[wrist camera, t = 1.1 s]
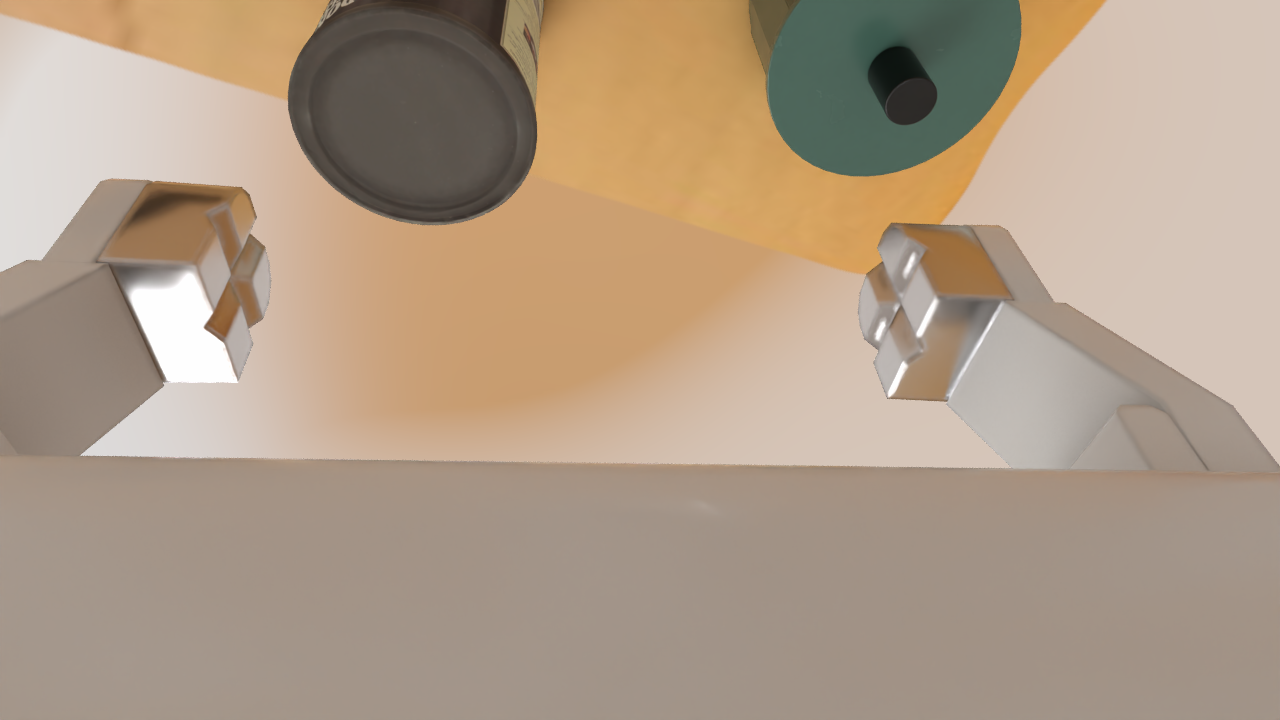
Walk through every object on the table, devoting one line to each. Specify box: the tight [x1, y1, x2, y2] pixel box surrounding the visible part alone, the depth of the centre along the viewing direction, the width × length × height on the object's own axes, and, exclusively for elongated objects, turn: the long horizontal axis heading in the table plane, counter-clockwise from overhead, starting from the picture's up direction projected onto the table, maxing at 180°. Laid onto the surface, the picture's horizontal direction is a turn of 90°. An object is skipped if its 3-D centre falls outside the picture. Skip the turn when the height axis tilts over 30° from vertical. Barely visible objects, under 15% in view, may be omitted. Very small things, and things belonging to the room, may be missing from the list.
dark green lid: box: [766, 0, 1021, 176], centre depth 38 cm, size 12×12×4 cm
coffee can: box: [288, 0, 544, 225], centre depth 39 cm, size 10×10×14 cm
